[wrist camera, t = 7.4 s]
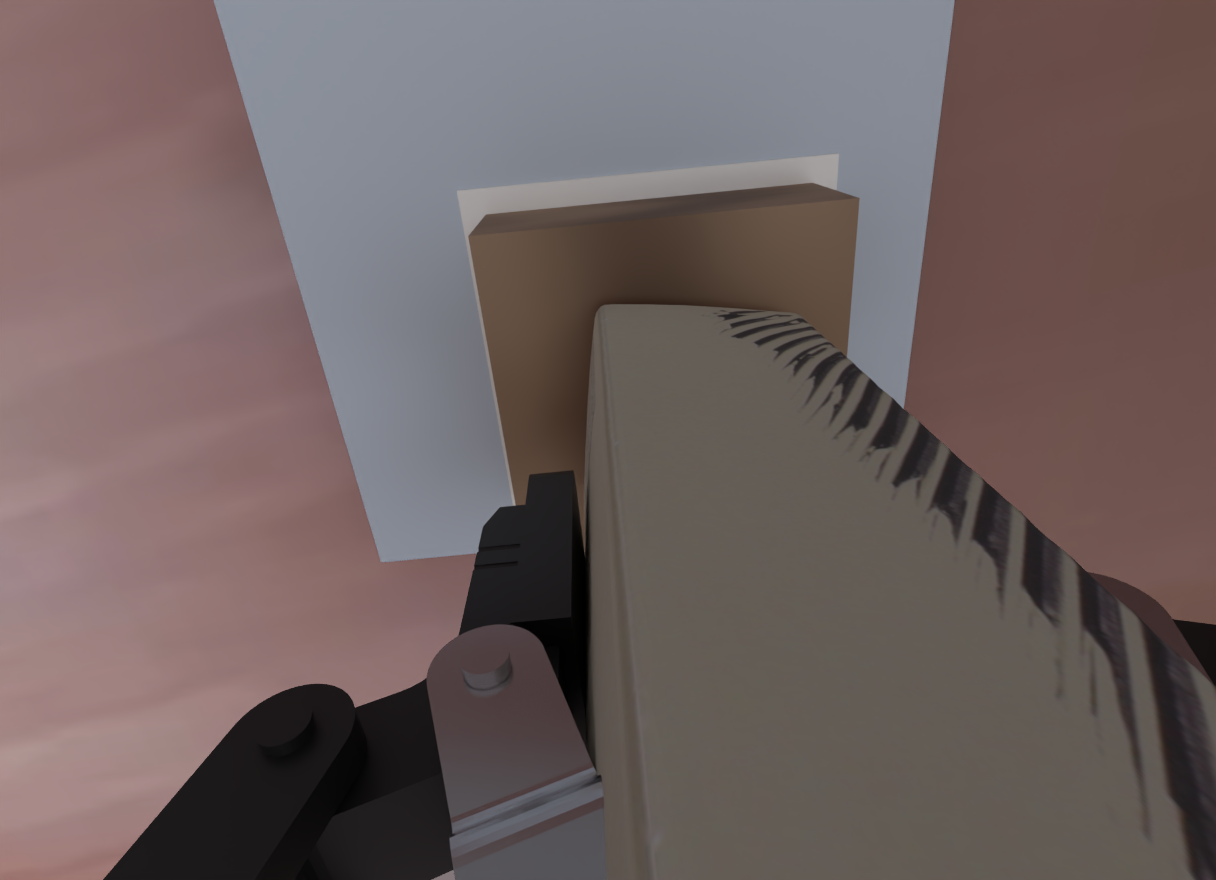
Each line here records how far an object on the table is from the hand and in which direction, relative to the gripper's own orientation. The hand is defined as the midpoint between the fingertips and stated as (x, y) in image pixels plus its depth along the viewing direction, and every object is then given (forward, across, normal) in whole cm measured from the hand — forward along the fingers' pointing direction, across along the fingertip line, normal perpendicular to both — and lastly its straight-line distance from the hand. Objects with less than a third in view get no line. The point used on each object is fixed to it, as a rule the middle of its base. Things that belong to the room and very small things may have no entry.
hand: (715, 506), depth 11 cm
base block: (+8, 0, 0) cm, 8 cm away
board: (+9, +1, -2) cm, 9 cm away
